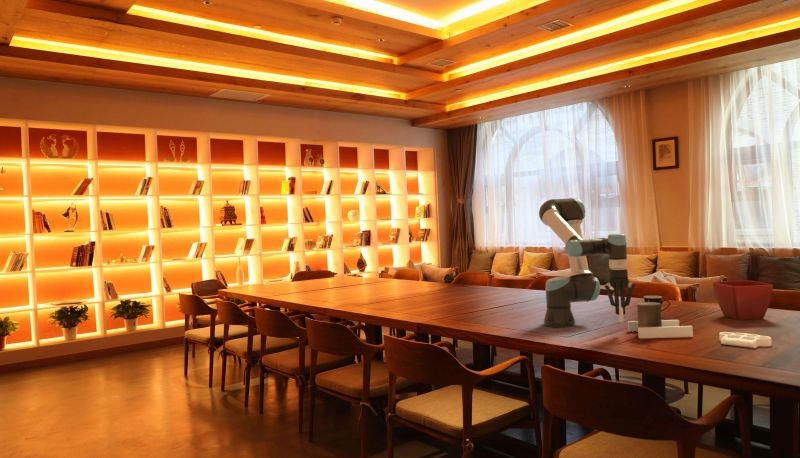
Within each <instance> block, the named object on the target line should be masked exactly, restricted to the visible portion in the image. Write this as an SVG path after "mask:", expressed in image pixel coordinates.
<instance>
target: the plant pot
mask: <svg viewBox="0 0 800 458" xmlns="http://www.w3.org/2000/svg"><path fill="white" fill-rule="evenodd" d="M712 285H713V291H714V294H715V297H716V300H717V303H718V306H719V308H720V311H721V312H722V315H723V316H725V317H727V318H730V319H731V318H732V319H734V320H736V321H740V320H741V321H742V320H762V319H764V318H765V317H766V315H767V311H768V309H769V306H770V303H771V299H772V296H773V295H772V294H773V289H774V284H771V283H765V282H761V281H755V280H725V281H713V282H712Z"/></svg>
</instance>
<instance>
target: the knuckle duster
mask: <svg viewBox="0 0 800 458" xmlns="http://www.w3.org/2000/svg"><path fill="white" fill-rule="evenodd" d="M719 341H720V344H722V345H726V346H727V345H728V346H733V347H734V346H736V347H743V348H749V349H750V348H751V349H756V348H759V347H772V337H771V336H767V335H760V334H755V333H745V332H728V331H723V332H721V331H720V332H719Z"/></svg>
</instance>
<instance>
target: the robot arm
mask: <svg viewBox="0 0 800 458" xmlns="http://www.w3.org/2000/svg"><path fill="white" fill-rule="evenodd" d="M538 217H539V219H540V221H541V222H542V224H544V225H545V226H547V227H549V228H550V229H551V231H552V232H553V233H554V234H555V235H556V236H557V237H558V238H559V239H560V240H561V241H562V243H563V244H564V249H565V253H566V254H567V256H568V257H567V258H568V262H569V266H570V271H571V272H570V275H569V276H557V277H553V278H550V279H547V280H546V282H545V289H544V290H545V301H546V311H545V314H544V318H543V325H544V326H546V327H548V328H549V327H550V328H569V327H574V326H576V319H575V316H574V313H573V311H572V306H571V305H572V303H584V302H586V303H588V302H593V301H596V300H597V299H598V297H599V296H600V294H601V293H600V292H601V283H600V281H599V279H598V278H597V277H595V276H594V275H593V274H594V273H593V272H592V271H590V269H589V264H588V259H587V256H602V255H603V256H604V255H605V256H606V255H608V267H609V268H608V269H609V280H608V282H607V283H606V284H603V287H604V289H605V290H606V294H607V297H608V299H609V303H610V305H611V307H615V309H614V310H615V314H616V315H617V319H618V320H617V321H618V323H624V315H626V307H628V306H630V303H631V298H632V295H633V294H632V293H633V290H634V287H636V286H635V284H634V283H632V282H630V280H629V273H628V269H627V268H628V253H627V252H628V251H627V250H628V249H627V248H628V246H627V244H628V242H627V238H626V234H625V233H611V234H608V235H607V238H606V237H598V238H589V239H587V238H586V239H583V238H584V237H583V233H582V227H581V224H582V223H583V220H584V219H585V217H586V208H585V205H584V203H583V201H582V200H580V199H578V198H573V197H569V198H553V199H548V200H546V201H544V202H542V204H541V206H540V208H539V210H538ZM627 287H628V288H627ZM611 288H612V289H613V292H614V293H613V294H612V290H611ZM626 288H627V292H626V294H625V291H626ZM619 293H620V294H619ZM613 295H614V297H613Z"/></svg>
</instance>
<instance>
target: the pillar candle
mask: <svg viewBox="0 0 800 458" xmlns="http://www.w3.org/2000/svg"><path fill="white" fill-rule="evenodd" d="M636 309H637V313H636V314H637V321H638V327H662V321H661V320H662V312H661V310H662V305H661V304H660V303H656V302H649V301H648V302H645V301H644V302H643V301H641V302H638V303H636Z"/></svg>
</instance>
